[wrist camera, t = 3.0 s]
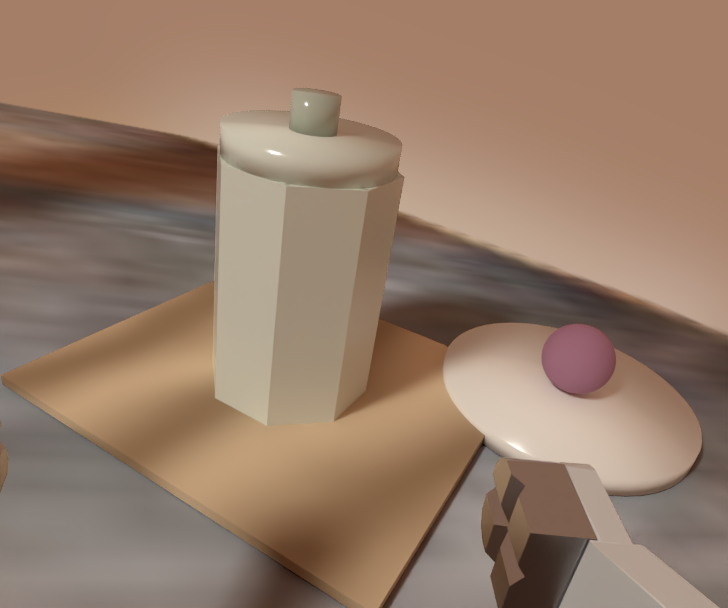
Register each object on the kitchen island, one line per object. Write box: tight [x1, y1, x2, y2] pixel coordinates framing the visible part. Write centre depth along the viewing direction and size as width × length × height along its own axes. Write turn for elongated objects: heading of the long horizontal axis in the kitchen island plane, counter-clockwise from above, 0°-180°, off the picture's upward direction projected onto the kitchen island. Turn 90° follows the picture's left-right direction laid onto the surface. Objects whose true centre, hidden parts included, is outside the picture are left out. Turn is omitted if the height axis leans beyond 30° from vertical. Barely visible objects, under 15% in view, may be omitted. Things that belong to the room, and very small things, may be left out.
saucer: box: [442, 323, 702, 496], centre depth 25 cm, size 11×11×1 cm
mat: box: [1, 280, 485, 608], centre depth 24 cm, size 16×14×1 cm
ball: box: [541, 324, 616, 394], centre depth 24 cm, size 3×3×3 cm
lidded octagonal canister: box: [213, 88, 404, 426], centre depth 21 cm, size 6×6×11 cm
